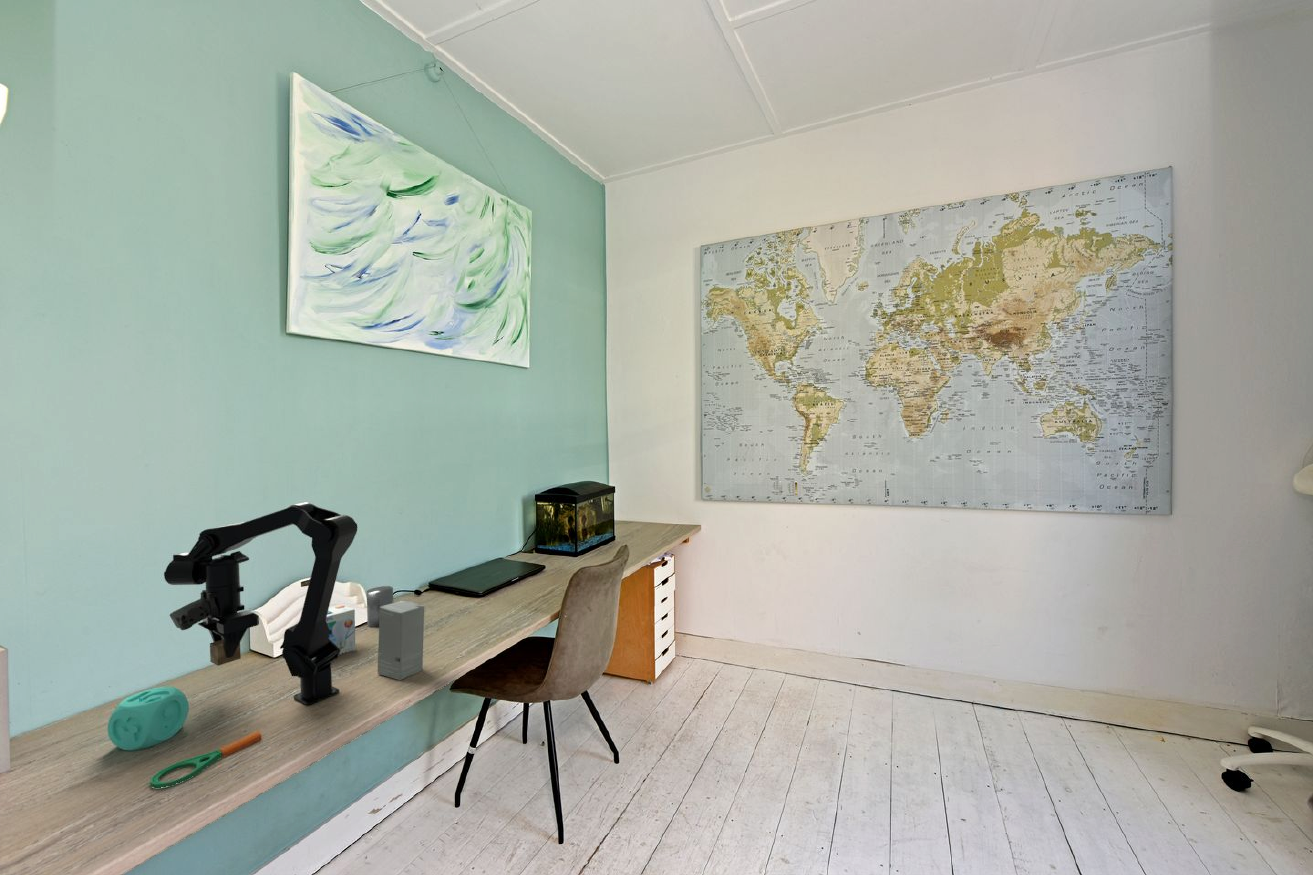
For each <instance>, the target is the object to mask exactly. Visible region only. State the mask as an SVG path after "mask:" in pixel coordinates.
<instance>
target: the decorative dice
mask: <svg viewBox="0 0 1313 875" xmlns="http://www.w3.org/2000/svg"><path fill="white" fill-rule="evenodd" d="M189 705H190V704H189V701H188V697H187V696H186V694H184V692H183V691H182V690H181V689H179V688H177V687H175V686H160V687H154V688H150V689H146V690H143V691H140V692H136V693H135V694H132V695H129V696H128V697H126V698H124V699H123V700H121V701H120V703H119V704H118V705H117V706H116V707H115V708H114V710H113V711H112V713H111V714H110V717H109V719H108V723H107V735H108V737H109V740H110V742H112V744H113V745H114V746H115V747H117V748H118V749H121V750H124V751H137V750H143V749H147V748H150V747H153V746H156V745H159V744H161V743H163V742H165V741H167V740H169V739H171V738H172V737H174V736H175V735H176V734H177V733H178V731H179V730H181V729H182V727H183V726H184V724H185V723H186V720H187V718H188V716H189V715H188V714H189Z"/></svg>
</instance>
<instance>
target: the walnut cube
mask: <svg viewBox="0 0 1313 875" xmlns="http://www.w3.org/2000/svg"><path fill="white" fill-rule="evenodd" d="M209 652H210V653H209V657H210V662H211V663H213V664H214V665H216V666H217V667H218V666H222V665H225V664H228V663H231V662H234V661H237V660H241V658H242V657H241V656H242V654H241V642H240V643H239V645H238V647H237V649H236V651H235V653H234V655H233V657H230V658H226V655H225V651H224V647H223V642H222V640H220V641H216V642H213V641H212V642H210V643H209Z"/></svg>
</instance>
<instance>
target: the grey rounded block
mask: <svg viewBox="0 0 1313 875" xmlns="http://www.w3.org/2000/svg"><path fill="white" fill-rule="evenodd" d="M392 603H394V587H393V586H390V585H387V586H386V585H385V586H376V587H372V588H369V589H367V590H366V613H367V614H366V617H367V619H366V620H367V621H366V622H367V627H369V628H379V619H380V607H382V606H384V605H388V604H392Z"/></svg>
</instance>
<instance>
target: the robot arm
mask: <svg viewBox="0 0 1313 875" xmlns="http://www.w3.org/2000/svg"><path fill="white" fill-rule="evenodd" d="M293 525H294V526H296V527H297V528H298V530H299V531H300V532H301V533H302V534H303V535H305V536H307V537H308V538H309V537H310V538H311V548H312V551H313V554H314V562H313V566H312V570H311V574H310V577H309V582H308V586H307V590H306V594H305V597H304V602H303V606H302V609H301V610H302V611H301V614H300V618H299V621H298V622H297V623H296V624H293V625H292V626H290V627H288V628H286V629H285V630H284V634H283V642H282V644H281V646H280V647H279V649H281V650H282V652H281V657H282V659H284V661H285V663H286V666H287V668H288V671H289V673H290V675H291V677H298V678H299V681H300V683H299V684H300V692H299V693H296V694H294V695H293V699H294V700H295V701H296V700H297V701H298V702H300V703H303V704H305V705H307V706H309V705H312V704H314V703H317V702H320V701H321V700H324V699H326V698H329V697H331V696H333V695H336V694H338V693H340V689H339V688H337V687H335V686H333V678H332V677H333V676H332V675H333V674H332V663H333V662H334V661H335V660H338V659H339V656H340V655H341V654H340V651H341V650H340V649H339V648H338V647H337V646H336V645H335V644H334V643H333V642H332V641H331V640H330V639H329V627H328V625H327V622H326V617H327V613H328V609H330V604H331V601H332V598H333V592H334V589H335V585H336V580H337V577H338V573H339V570H340V565H341V562H342V561H341V560H342V558H343V556H344V555H345V553H346V552H347V551H348V550H349V548H351V545H352V544H353V541H354V539H355V537H356V535H357V532H358V524H357V523H356V521H355V519H353V517H351V516H349V515H345V514H340V513H338V512H335V511H333V510H328V509H325V508H322V507H319V506H316V505H315V504H313V503H311V502H302V503H301V502H300V503H295V504H292V505H290V506H288V507H287V508H284V509H281V510H277V511H274V512H271V513H268V514H266V515H265V514H264V515H263V516H260V517H256V518H253V519H251V520H247V521H244V522H236V523H230V524H229V523H228V524H226V525H220V526H216V527H211V528H207V529H204V530H202V531H201V532H200V533H199V536H198V538H197V542H196V543H195V544H194V545H193V547H192V548H191V550H190V551H189V552H180V553H176V554H173V555H172V560H171V561H170V562H169V564H167V566H166V569H165V571H164V572H163V576H164V580H165V582H166V583H167V584H169V585H171V586H187V585H188V586H193V585H194V586H198V585H203V584H205V589H204V590H203V589H202V591H201V592H200V598H199V599H197V600H195V601H191V602H190V603H188V604H185V605H184V606H182V607H180V608H178V609H176V610H175V611H174V610H173V611H172V612H171V613H169V617H170V619H171V621H172V622H173V624H174V625H175V628H176V629H180V630H181V631H185V630H188V629H190V628H192V627H193V626H194V625H196V624H197V625H198V626H200V627H202V628H203V629H205V630H207V631H208V632H209V634H210V637H211V640H212V643H213V642H216V641H220V640H222V642H223V647H224V651H225V655H226V658H230V657H233V655H234V653H235V651H236V649H237V647H238V645H239V643H240V644H241V641H242V639H243V638H244V636H245V633H246V632H247V630H248V629H250V628H253V627H257V626H258V625H260V615H258V614H256V613H255V612H254V611H253V612H252V611H250V610H245V605H244V604H242V602H241V593H242V592H244V590H245V589H244V586H243V585H241V584H240V583H241V581H240V580H241V579H240V564H241V563H245V562H248V561H249V560H250V557H248V555H245V554H244V553H242V552H241V551H240V550H239V549H240V548H241V547H243V546H246V544H249V543H250V542H252V541H253V539H256V538H257V537H259V536H263V535H266V534H269V533H272V532H274V531H278V530H280V529H283V528H287V527H289V526H293ZM235 550H238V551H235ZM231 551H234V552H231ZM227 552H231V553H230V554H226V553H227ZM213 557H215V558H213ZM339 654H340V655H339ZM315 657H316V658H315ZM313 658H314V659H313ZM311 659H313V660H311Z"/></svg>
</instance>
